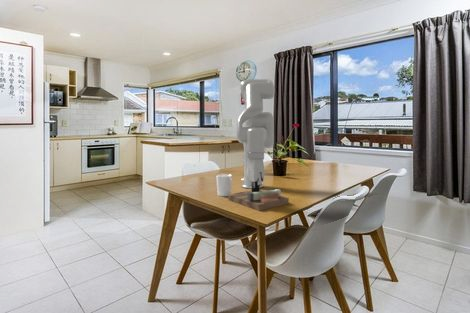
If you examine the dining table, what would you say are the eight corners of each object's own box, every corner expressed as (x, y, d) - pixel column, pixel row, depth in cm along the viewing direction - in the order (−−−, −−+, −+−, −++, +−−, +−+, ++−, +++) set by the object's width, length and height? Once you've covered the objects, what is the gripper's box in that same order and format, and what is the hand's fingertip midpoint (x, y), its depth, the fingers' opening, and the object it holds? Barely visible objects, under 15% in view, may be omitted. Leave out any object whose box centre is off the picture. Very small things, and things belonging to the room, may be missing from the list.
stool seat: (228, 199, 136) (228, 188, 136) (256, 194, 147) (256, 183, 146) (258, 210, 119) (258, 197, 118) (288, 203, 129) (288, 191, 129)
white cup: (225, 192, 151) (225, 173, 150) (235, 195, 145) (235, 175, 144) (213, 194, 146) (213, 175, 145) (222, 197, 140) (222, 177, 139)
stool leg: (278, 195, 132) (278, 188, 132) (281, 197, 130) (281, 190, 129) (247, 199, 126) (247, 192, 126) (250, 200, 124) (250, 193, 123)
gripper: (242, 154, 133) (242, 192, 135) (254, 158, 119) (254, 200, 121) (256, 153, 136) (256, 191, 138) (270, 157, 121) (270, 199, 124)
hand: (255, 195), depth 130 cm, fingers closed
